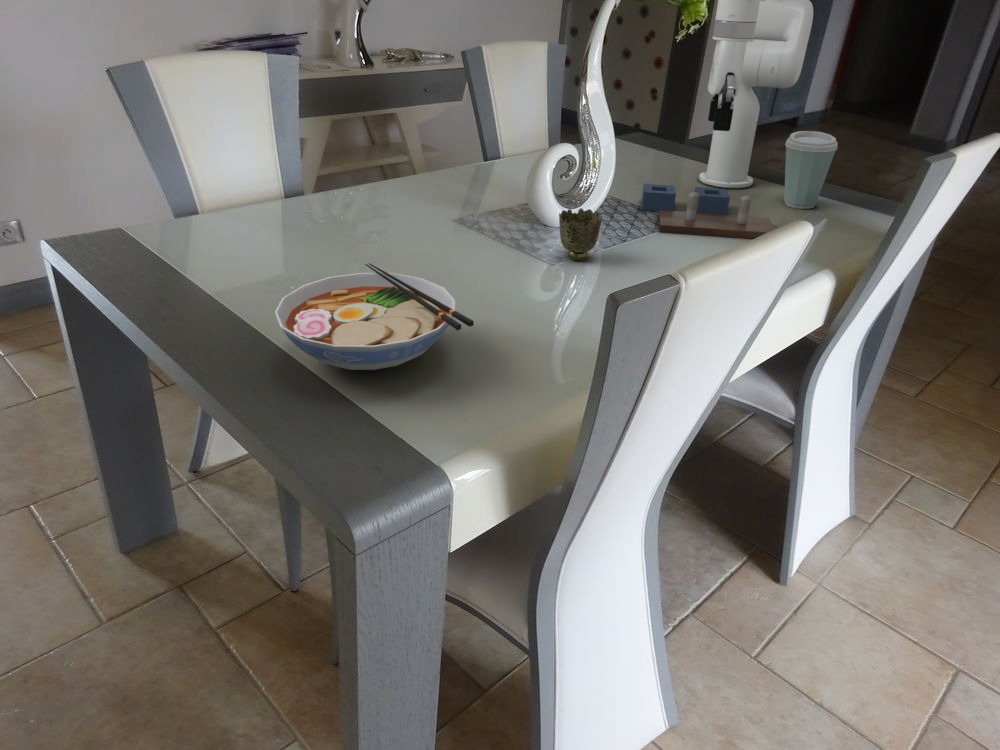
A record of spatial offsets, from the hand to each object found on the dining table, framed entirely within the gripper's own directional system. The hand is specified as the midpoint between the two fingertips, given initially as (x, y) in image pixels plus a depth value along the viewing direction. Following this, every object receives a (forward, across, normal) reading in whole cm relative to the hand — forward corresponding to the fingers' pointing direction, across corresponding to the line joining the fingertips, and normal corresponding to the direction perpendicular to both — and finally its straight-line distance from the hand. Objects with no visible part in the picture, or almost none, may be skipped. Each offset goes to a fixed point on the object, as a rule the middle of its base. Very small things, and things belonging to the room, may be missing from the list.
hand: (718, 125), depth 149 cm
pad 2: (+18, -2, +1) cm, 18 cm away
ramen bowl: (+19, +75, -50) cm, 92 cm away
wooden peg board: (+18, +10, +1) cm, 20 cm away
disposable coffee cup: (+18, -11, +21) cm, 30 cm away
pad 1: (+18, -3, -10) cm, 21 cm away
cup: (+19, +32, -25) cm, 45 cm away
